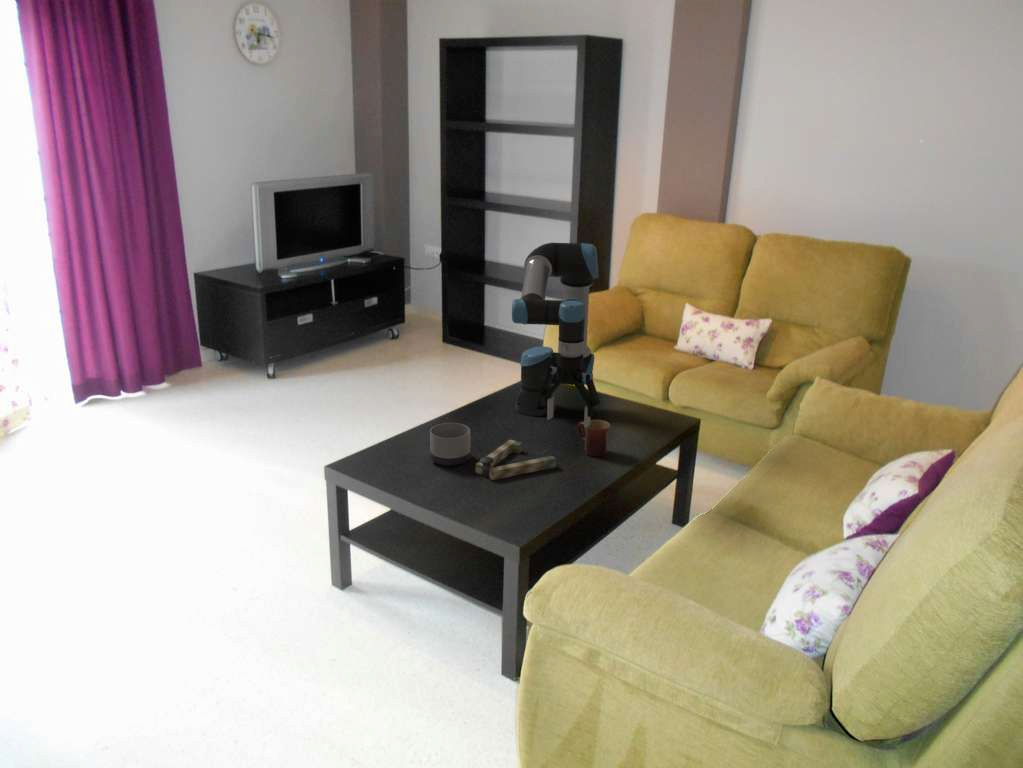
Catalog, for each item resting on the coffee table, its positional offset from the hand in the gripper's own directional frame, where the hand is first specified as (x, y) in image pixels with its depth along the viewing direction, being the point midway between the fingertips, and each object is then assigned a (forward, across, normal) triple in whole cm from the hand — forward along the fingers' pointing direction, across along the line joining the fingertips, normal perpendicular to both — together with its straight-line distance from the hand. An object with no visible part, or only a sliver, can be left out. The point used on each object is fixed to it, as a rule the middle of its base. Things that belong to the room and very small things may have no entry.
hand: (568, 422), depth 254 cm
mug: (+19, -1, +21) cm, 28 cm away
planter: (+19, -38, -8) cm, 43 cm away
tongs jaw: (+18, -13, -5) cm, 23 cm away
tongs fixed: (+18, -23, -2) cm, 29 cm away
